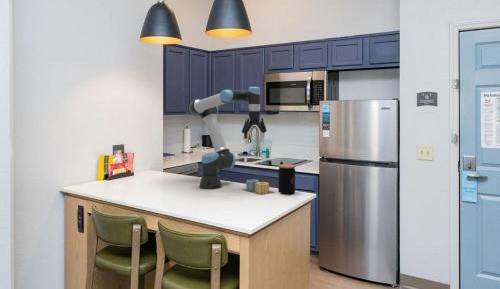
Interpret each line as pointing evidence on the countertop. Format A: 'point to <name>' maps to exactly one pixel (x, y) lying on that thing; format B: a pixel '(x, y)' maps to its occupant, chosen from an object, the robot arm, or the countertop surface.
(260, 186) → the gear
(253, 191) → the gear board
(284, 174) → the coffee jar
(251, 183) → the gear
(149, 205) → the countertop surface
